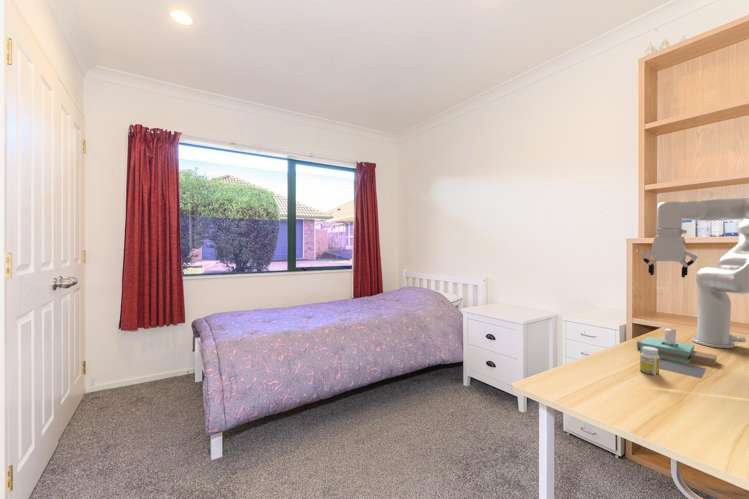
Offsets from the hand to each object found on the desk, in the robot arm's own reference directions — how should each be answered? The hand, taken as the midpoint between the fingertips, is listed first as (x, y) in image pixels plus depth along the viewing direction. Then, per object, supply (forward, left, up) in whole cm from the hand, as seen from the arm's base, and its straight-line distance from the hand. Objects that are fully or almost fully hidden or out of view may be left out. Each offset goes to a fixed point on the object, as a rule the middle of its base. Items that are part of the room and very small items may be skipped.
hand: (667, 276), depth 137 cm
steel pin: (+4, +14, -28) cm, 32 cm away
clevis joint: (+3, +15, -28) cm, 32 cm away
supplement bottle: (+18, +36, -28) cm, 49 cm away
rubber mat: (+7, +28, -28) cm, 40 cm away
